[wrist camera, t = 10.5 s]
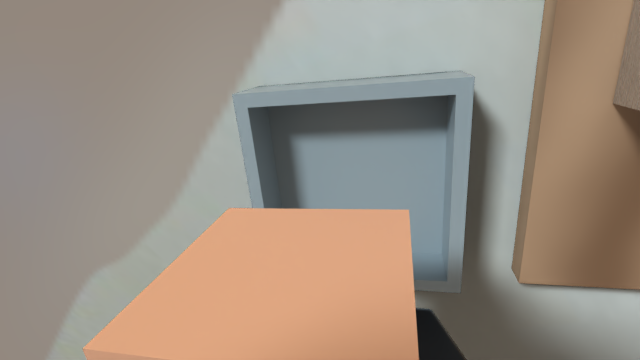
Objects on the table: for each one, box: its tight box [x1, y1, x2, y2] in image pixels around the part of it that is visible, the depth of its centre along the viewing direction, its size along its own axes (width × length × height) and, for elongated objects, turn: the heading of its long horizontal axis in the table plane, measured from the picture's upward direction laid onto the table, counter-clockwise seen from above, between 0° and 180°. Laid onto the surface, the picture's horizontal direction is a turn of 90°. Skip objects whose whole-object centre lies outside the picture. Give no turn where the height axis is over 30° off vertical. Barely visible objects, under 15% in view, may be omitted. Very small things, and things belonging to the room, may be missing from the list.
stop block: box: [83, 208, 419, 360], centre depth 6 cm, size 4×4×4 cm
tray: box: [232, 71, 475, 293], centre depth 14 cm, size 8×8×2 cm
